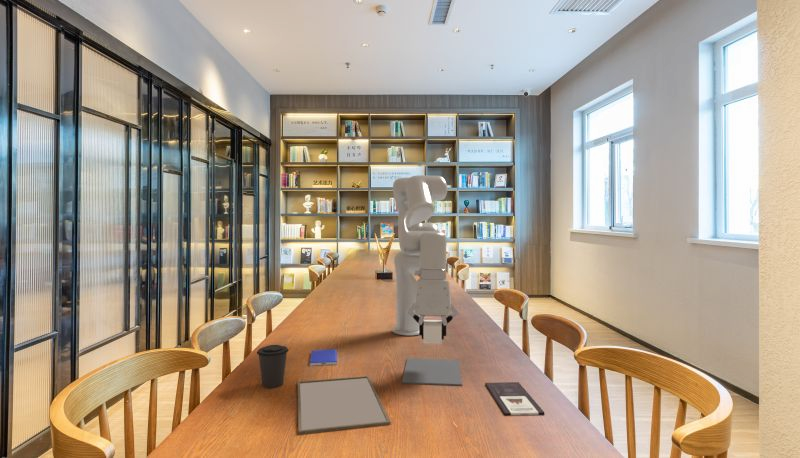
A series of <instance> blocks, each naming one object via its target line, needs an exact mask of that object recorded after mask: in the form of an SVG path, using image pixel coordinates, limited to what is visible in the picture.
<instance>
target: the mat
mask: <svg viewBox="0 0 800 458" xmlns="http://www.w3.org/2000/svg"><path fill="white" fill-rule="evenodd" d="M403 371H404V372H403V376H402V380H401V384H408V385H410V384H411V385H434V386H435V385H436V386H456V387H457V386H461V387H462V386H463V380H462V374H461V373H462V372H461V366H460V360H459V359H445V358H421V357H418V358H415V357H407V358H406V362H405V367H404V370H403Z"/></svg>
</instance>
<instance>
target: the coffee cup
mask: <svg viewBox="0 0 800 458" xmlns="http://www.w3.org/2000/svg"><path fill="white" fill-rule="evenodd" d="M288 352H289V349H288V347H287V346H285V345H281V344H271V345H266V346H262V347H259V349H257V351H256V354H257V355H258V360H259V368H260V377H261V385H262V387H263V388H266V389H274V388H279V387H282V386H283V385H284V379H285V371H286V364H287V353H288Z"/></svg>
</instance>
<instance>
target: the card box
mask: <svg viewBox="0 0 800 458" xmlns="http://www.w3.org/2000/svg"><path fill="white" fill-rule="evenodd" d="M423 321H424V326H423V339H422V340H423V343H422V344H424V345H442V343H443V342H442V341H443V340H442V318H441V317H424V320H423Z"/></svg>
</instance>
